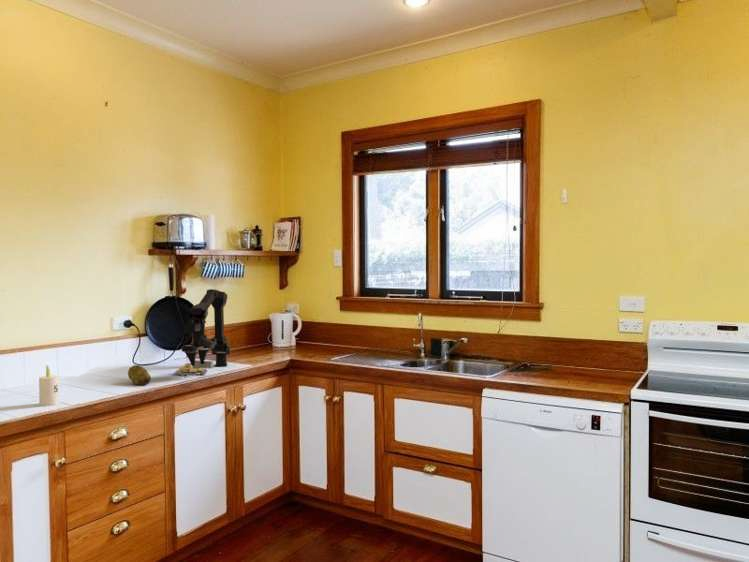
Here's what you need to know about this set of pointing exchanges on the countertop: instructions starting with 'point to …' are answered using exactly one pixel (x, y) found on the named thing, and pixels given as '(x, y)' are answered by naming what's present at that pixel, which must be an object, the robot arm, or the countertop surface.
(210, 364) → the tan curved piece
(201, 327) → the robot arm
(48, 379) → the candle
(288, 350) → the countertop surface
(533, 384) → the countertop surface
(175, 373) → the round metal dish
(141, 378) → the potato
